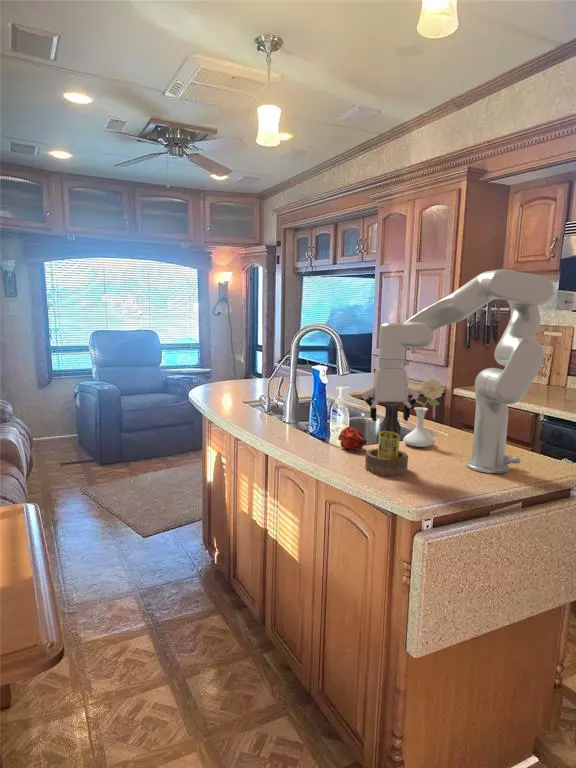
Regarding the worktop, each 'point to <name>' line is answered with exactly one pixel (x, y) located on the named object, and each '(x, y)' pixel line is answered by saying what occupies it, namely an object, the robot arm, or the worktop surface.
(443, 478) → the worktop surface
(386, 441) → the sauce bottle
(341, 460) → the worktop surface
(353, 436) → the dragon fruit
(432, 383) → the flower in vase
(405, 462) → the bottle holder
